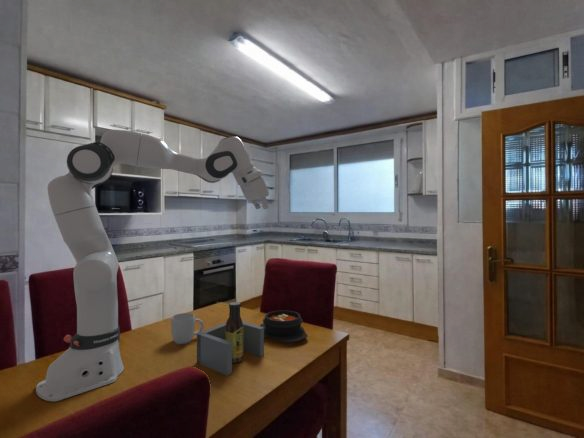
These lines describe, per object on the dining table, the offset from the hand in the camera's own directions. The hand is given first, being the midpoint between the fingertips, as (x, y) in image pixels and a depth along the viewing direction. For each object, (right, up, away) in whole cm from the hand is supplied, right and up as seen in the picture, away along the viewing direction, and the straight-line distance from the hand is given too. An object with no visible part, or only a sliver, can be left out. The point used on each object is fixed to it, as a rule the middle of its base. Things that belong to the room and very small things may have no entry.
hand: (262, 208), depth 123 cm
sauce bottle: (-9, -54, -14) cm, 56 cm away
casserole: (+8, -54, +9) cm, 55 cm away
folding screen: (-9, -54, -13) cm, 56 cm away
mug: (-31, -54, +3) cm, 62 cm away
